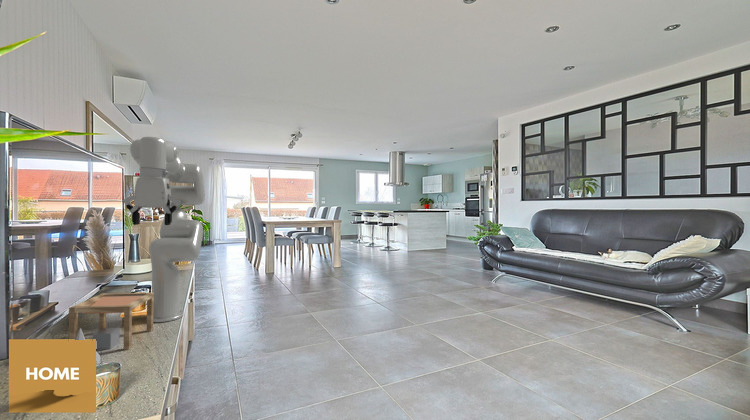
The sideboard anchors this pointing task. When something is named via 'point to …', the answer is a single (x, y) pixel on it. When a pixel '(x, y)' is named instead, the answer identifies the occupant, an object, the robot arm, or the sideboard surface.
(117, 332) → the grey cube
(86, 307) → the frame
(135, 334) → the sideboard surface
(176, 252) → the robot arm
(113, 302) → the trapdoor
